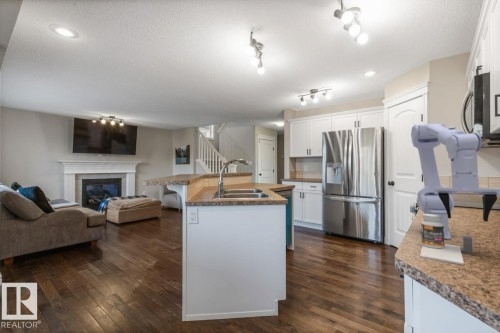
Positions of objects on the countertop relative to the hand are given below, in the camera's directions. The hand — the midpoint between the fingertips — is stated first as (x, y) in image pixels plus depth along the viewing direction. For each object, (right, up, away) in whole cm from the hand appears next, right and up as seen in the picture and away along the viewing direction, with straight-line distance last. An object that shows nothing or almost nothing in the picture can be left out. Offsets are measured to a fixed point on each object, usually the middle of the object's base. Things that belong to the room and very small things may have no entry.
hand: (466, 219), depth 66 cm
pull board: (-6, -10, 0) cm, 12 cm away
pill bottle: (-6, -10, +5) cm, 13 cm away
